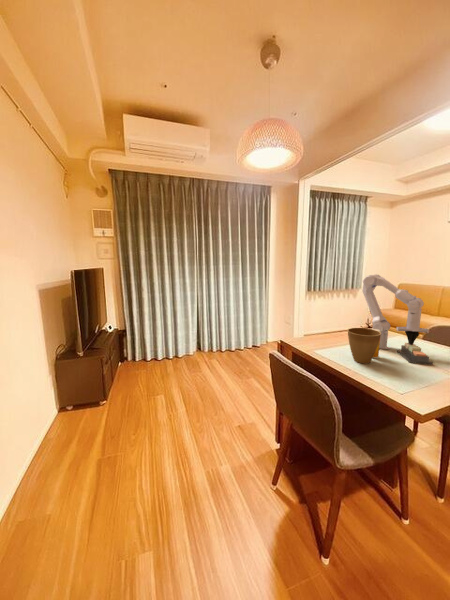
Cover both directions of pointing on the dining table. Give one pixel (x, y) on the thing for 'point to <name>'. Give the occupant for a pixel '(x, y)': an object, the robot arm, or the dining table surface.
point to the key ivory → (408, 345)
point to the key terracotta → (419, 353)
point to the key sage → (414, 348)
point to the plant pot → (363, 343)
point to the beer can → (377, 347)
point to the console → (413, 357)
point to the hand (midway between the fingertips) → (410, 344)
